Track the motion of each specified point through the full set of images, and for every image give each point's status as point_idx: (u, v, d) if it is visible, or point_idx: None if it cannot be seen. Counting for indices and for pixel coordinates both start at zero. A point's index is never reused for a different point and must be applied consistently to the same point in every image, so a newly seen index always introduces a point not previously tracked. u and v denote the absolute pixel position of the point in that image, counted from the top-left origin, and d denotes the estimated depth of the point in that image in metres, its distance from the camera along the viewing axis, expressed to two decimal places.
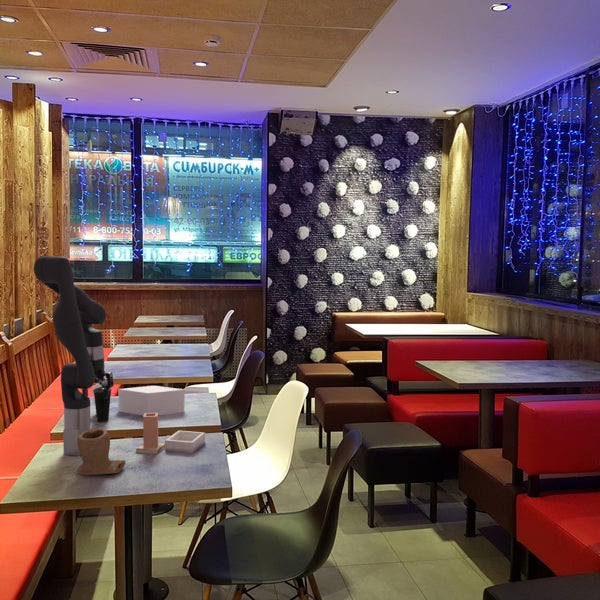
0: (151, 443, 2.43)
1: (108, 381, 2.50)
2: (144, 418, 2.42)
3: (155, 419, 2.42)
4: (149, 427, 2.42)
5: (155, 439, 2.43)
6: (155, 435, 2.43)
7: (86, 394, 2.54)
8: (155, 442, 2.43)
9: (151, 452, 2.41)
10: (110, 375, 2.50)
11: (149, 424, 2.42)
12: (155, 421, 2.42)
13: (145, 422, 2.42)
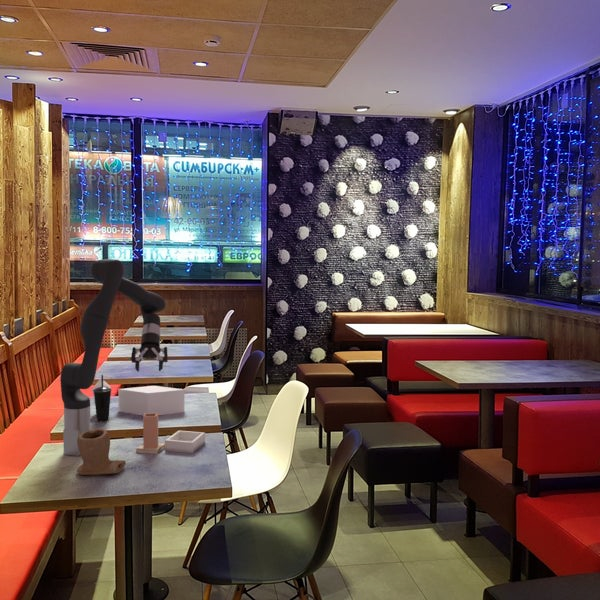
0: (151, 443, 2.43)
1: (165, 353, 2.64)
2: (144, 418, 2.42)
3: (155, 419, 2.42)
4: (149, 427, 2.42)
5: (155, 439, 2.43)
6: (155, 435, 2.43)
7: (138, 368, 2.59)
8: (155, 442, 2.43)
9: (151, 452, 2.41)
10: None
11: (149, 424, 2.42)
12: (155, 421, 2.42)
13: (145, 422, 2.42)
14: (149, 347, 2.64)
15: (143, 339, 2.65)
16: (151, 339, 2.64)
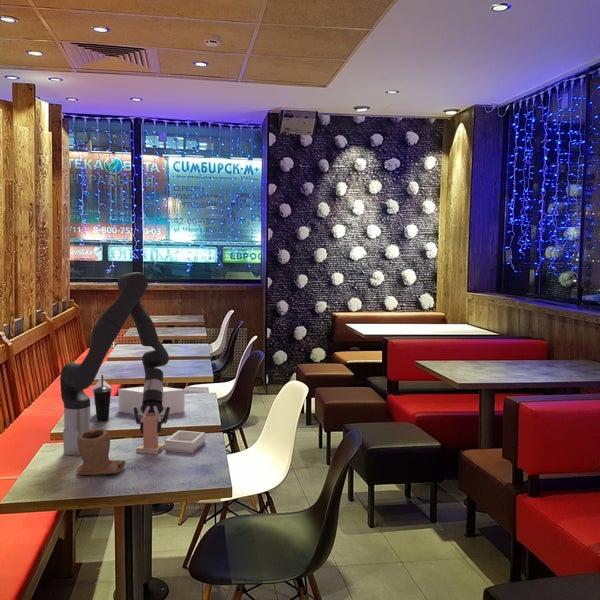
0: (151, 443, 2.43)
1: (166, 414, 2.48)
2: (144, 418, 2.42)
3: (155, 419, 2.42)
4: (149, 427, 2.42)
5: (155, 439, 2.43)
6: (155, 435, 2.43)
7: None
8: (155, 442, 2.43)
9: (151, 452, 2.41)
10: (169, 410, 2.49)
11: (149, 424, 2.42)
12: (155, 421, 2.42)
13: (145, 422, 2.42)
14: (151, 406, 2.49)
15: (145, 397, 2.50)
16: (153, 397, 2.49)
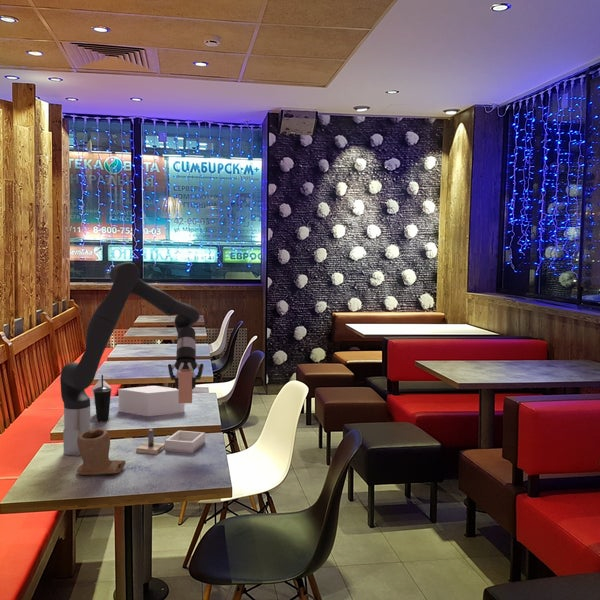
0: (186, 398, 2.46)
1: (200, 370, 2.51)
2: (179, 373, 2.45)
3: (190, 374, 2.46)
4: (184, 382, 2.46)
5: (190, 394, 2.46)
6: (190, 390, 2.46)
7: None
8: (190, 397, 2.46)
9: (151, 452, 2.41)
10: None
11: (184, 379, 2.45)
12: (190, 376, 2.46)
13: (180, 377, 2.45)
14: (184, 362, 2.52)
15: (179, 353, 2.53)
16: (187, 353, 2.52)
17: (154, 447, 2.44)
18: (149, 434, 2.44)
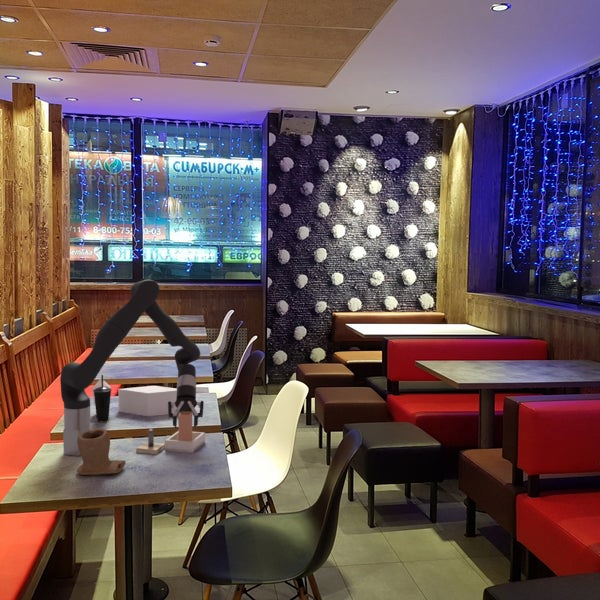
0: None
1: (201, 408, 2.52)
2: (179, 417, 2.46)
3: (190, 417, 2.47)
4: (184, 426, 2.47)
5: (190, 437, 2.48)
6: (190, 433, 2.47)
7: (176, 424, 2.48)
8: (190, 440, 2.48)
9: (151, 452, 2.41)
10: (203, 404, 2.54)
11: (184, 422, 2.47)
12: (190, 420, 2.47)
13: (180, 421, 2.46)
14: (185, 401, 2.54)
15: (179, 392, 2.54)
16: (187, 392, 2.53)
17: (154, 447, 2.44)
18: (149, 434, 2.44)
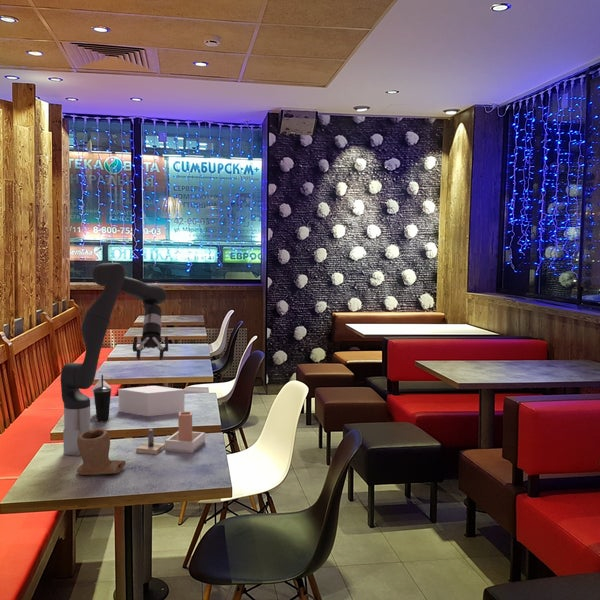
0: None
1: (166, 342, 2.69)
2: (179, 417, 2.46)
3: (190, 417, 2.47)
4: (184, 425, 2.47)
5: (190, 437, 2.48)
6: (190, 433, 2.47)
7: (139, 357, 2.64)
8: (190, 440, 2.48)
9: (151, 452, 2.41)
10: (167, 339, 2.71)
11: (184, 422, 2.47)
12: (190, 419, 2.47)
13: (180, 421, 2.47)
14: (150, 337, 2.70)
15: (144, 329, 2.70)
16: (152, 329, 2.69)
17: (154, 447, 2.44)
18: (149, 434, 2.44)
